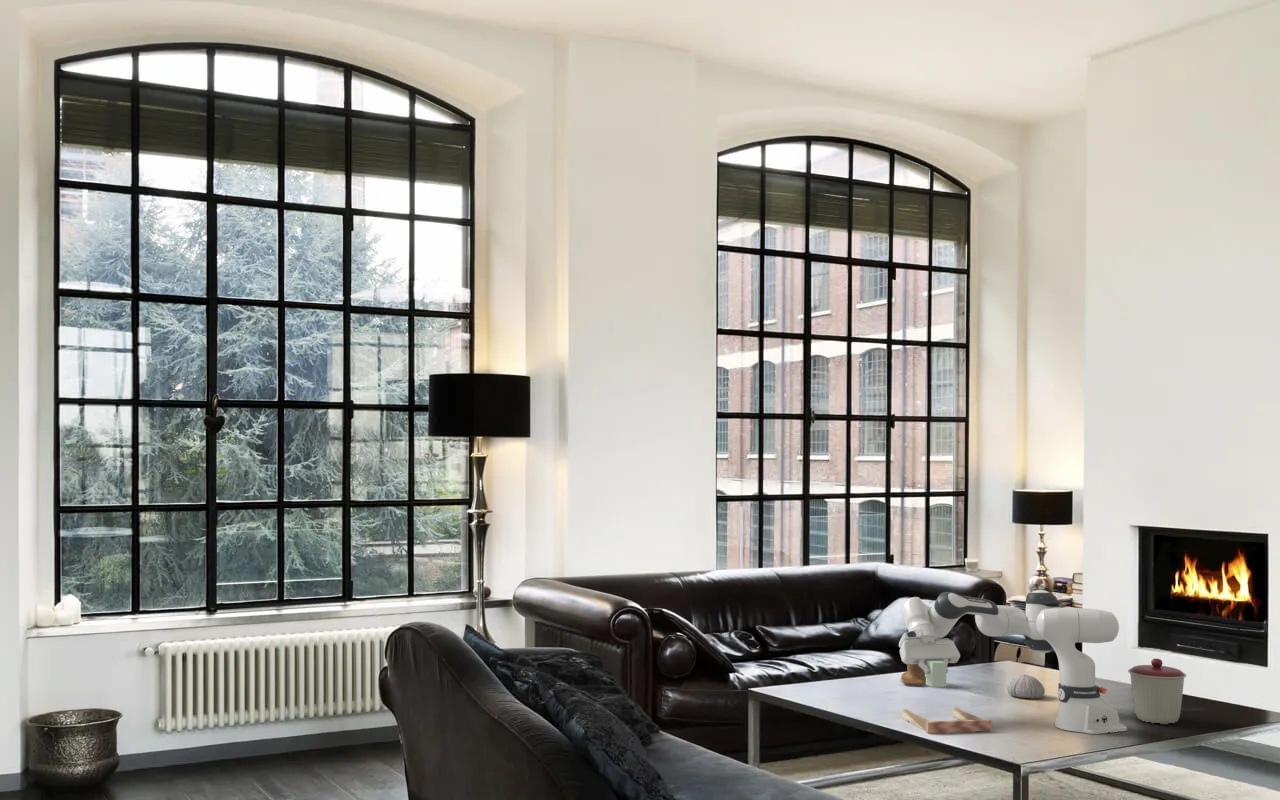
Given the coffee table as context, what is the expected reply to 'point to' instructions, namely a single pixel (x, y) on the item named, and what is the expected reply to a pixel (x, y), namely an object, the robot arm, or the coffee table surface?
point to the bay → (949, 722)
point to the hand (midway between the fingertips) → (936, 672)
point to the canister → (1157, 692)
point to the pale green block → (936, 673)
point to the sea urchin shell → (1025, 687)
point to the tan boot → (914, 675)
